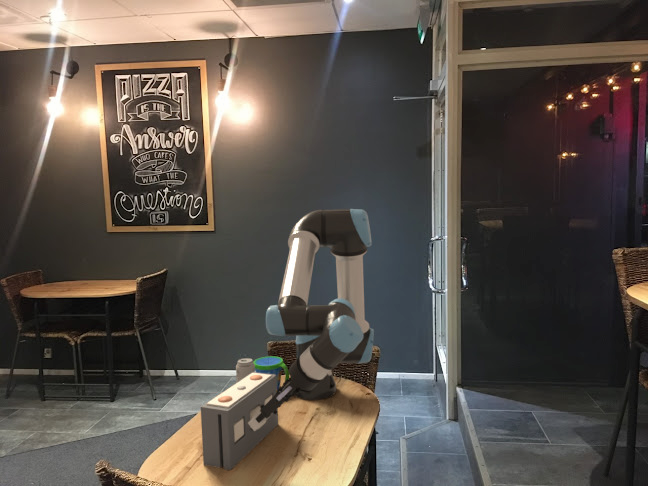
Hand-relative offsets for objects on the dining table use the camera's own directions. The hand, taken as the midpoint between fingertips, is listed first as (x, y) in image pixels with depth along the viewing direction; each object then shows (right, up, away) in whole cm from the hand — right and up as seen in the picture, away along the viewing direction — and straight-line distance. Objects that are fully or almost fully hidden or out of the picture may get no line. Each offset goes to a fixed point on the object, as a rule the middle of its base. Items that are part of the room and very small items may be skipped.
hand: (252, 425), depth 121 cm
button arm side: (+1, -3, +18) cm, 18 cm away
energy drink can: (-7, -7, +37) cm, 38 cm away
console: (-4, -9, +12) cm, 15 cm away
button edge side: (-5, -4, +3) cm, 7 cm away
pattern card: (-4, +6, +10) cm, 13 cm away
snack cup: (-1, -6, +50) cm, 51 cm away
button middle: (0, -3, +10) cm, 10 cm away
